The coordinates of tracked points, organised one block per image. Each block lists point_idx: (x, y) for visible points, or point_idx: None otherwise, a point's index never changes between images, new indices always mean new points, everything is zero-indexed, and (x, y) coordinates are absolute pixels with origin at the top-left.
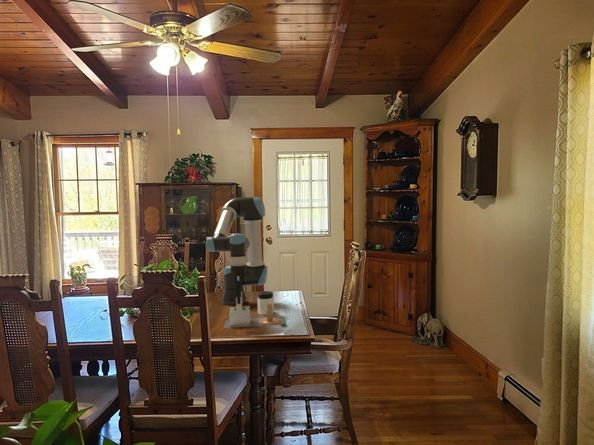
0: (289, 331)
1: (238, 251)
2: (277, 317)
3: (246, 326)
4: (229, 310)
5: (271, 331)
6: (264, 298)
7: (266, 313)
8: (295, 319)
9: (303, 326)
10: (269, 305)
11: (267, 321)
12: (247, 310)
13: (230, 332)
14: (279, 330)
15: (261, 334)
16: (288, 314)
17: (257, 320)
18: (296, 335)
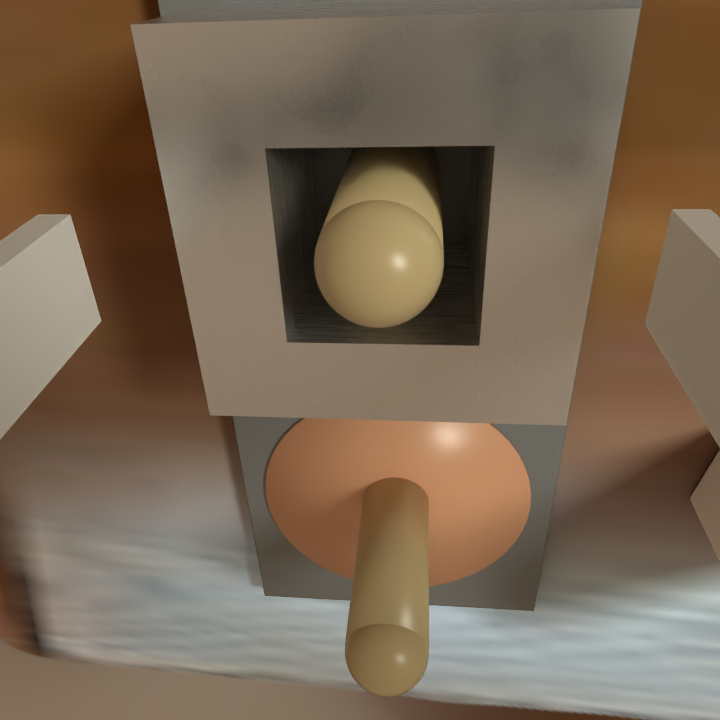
0: (120, 581)
1: None
2: (527, 566)
3: None
4: (283, 23)
5: (111, 471)
6: None
7: (714, 500)
8: (473, 656)
9: (253, 666)
10: (351, 667)
11: (375, 479)
12: (247, 385)
13: (32, 32)
14: (145, 526)
15: None
16: (677, 640)
17: None
18: (23, 603)
